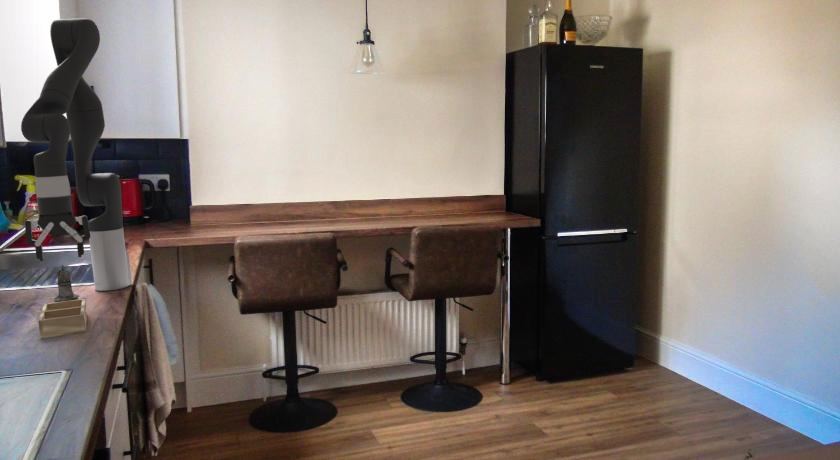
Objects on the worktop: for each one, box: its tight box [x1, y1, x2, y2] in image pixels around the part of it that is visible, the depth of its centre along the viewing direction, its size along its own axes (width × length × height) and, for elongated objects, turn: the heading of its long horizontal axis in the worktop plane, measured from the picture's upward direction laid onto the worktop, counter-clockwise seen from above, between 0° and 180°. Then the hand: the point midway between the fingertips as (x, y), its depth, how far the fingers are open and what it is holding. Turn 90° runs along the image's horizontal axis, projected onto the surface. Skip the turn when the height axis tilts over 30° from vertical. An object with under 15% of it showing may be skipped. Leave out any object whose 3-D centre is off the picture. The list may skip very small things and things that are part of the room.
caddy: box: [38, 298, 88, 339], centre depth 160 cm, size 17×9×4 cm, turn 25°
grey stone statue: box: [52, 264, 80, 302], centre depth 173 cm, size 6×6×12 cm
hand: (61, 258), depth 172 cm, fingers open, 8 cm apart
